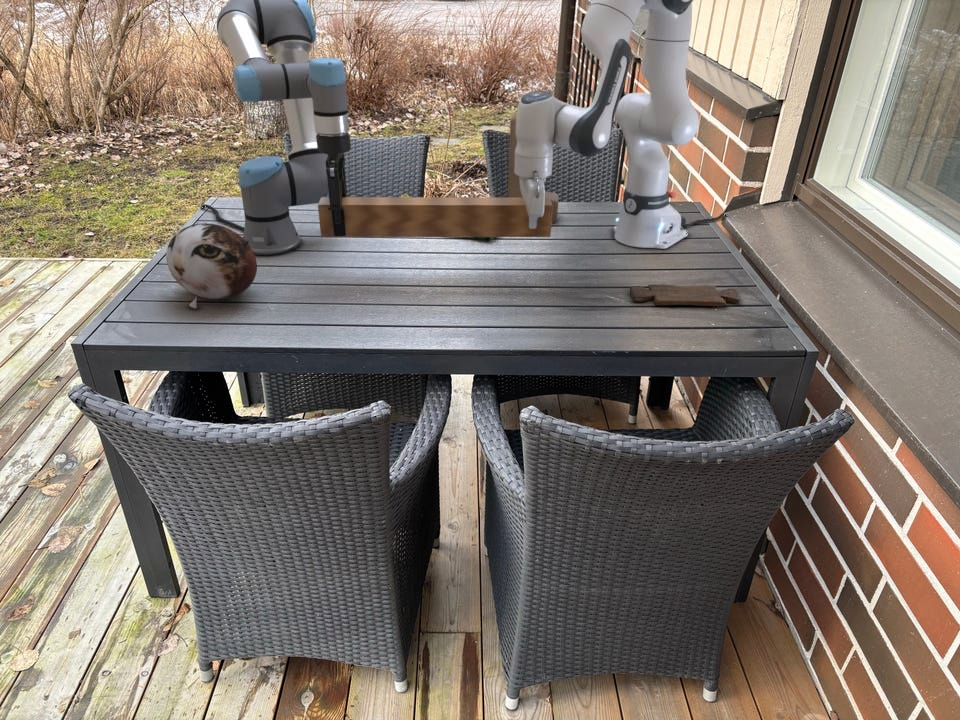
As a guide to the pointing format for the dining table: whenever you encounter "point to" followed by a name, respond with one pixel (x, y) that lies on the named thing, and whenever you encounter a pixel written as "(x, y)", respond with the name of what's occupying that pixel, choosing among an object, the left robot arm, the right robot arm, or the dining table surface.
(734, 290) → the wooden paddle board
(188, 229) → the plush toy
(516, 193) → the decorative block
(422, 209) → the bar
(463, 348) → the dining table surface
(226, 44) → the left robot arm
